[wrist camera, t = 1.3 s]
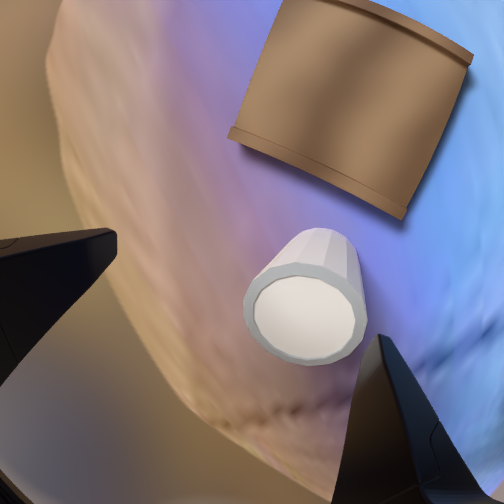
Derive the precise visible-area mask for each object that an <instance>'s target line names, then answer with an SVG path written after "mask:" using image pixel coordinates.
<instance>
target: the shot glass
mask: <svg viewBox="0 0 504 504" xmlns="http://www.w3.org/2000/svg"><path fill="white" fill-rule="evenodd" d="M243 306H244V320H245V322H246V324H247V327H248V329H249V331H250V333H251V335H252V337H253V338H254V339H255V340H256V341H257V342H258V343H259V344H260V345H261V346H262V347H263V348H264V349H265V350H266V351H267V352H269V353H271V354H273V355H274V356H276V357H278V358H280V359H282V360H284V361H286V362H290V363H295V364H300V365H305V366H316V365H325V364H331V363H333V362H335V361H338V360H340V359H342V358H344V357H346V356H348V355H349V354H350V353H351V352H352V351H353V350H354V349H355V348H356V347H357V346H358V344H359V343H360V342H361V341H362V340H363V336H364V332H365V329H366V325H367V321H368V319H367V311H366V303H365V296H364V288H363V282H362V275H361V269H360V263H359V259H358V255H357V252H356V249H355V247H354V246H353V245H352V244H351V242H350V241H349V240H348V239H347V237H345V236H343V235H341V234H340V233H338V232H336V231H334V230H332V229H324V228H313V229H309V230H306V231H302V232H301V233H300V234H298V235H297V236H296V237H294V238H293V239H292V240H291V241H290V242H289V243H288V244H287V245H286V246H285V247H284V248H283V249H282V250H281V251H280V252H279V253H278V254H277V256H276V257H275V258H274V259H273V260H272V261H271V262H270V263H269V264H268V265H267V266H266V267H265V268H264V269H263V270H262V271H261V272H260V273H259V275H258V276H257V277H256V278H255V279H254V280H253V281H252V283H251V285H250V287H249V289H248V291H247V293H246V295H245V297H244V299H243Z"/></svg>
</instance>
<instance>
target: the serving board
mask: <svg viewBox="0 0 504 504" xmlns="http://www.w3.org/2000/svg"><path fill="white" fill-rule="evenodd" d="M473 56H474V54H472V53H471V52H469V51H468V50H466V49H465V48H463V47H462V46H460V45H458V44H457V43H455V42H453V41H452V40H450V39H448V38H447V37H445V36H443V35H442V34H440V33H438V32H436V31H434V30H433V29H431V28H429V27H427V26H425V25H423V24H421V23H419V22H417V21H415V20H413V19H411V18H409V17H407V16H405V15H403V14H401V13H398V12H396V11H394V10H392V9H389V8H387V7H385V6H382V5H380V4H377V3H375V2H372V1H369V0H283V2H282V4H281V6H280V9H279V11H278V13H277V16H276V18H275V20H274V23H273V25H272V28H271V30H270V32H269V35H268V37H267V40H266V42H265V45H264V47H263V50H262V52H261V55H260V57H259V60H258V63H257V65H256V68H255V70H254V73H253V76H252V78H251V81H250V84H249V86H248V89H247V92H246V94H245V97H244V100H243V103H242V105H241V108H240V111H239V114H238V117H237V119H236V122H235V125H234V127H231V128H230V131H229V134H228V137H227V138H228V139H231V140H233V141H236V142H238V143H241V144H243V145H246V146H248V147H251V148H253V149H256V150H258V151H260V152H263V153H265V154H267V155H270V156H272V157H274V158H277V159H279V160H281V161H284V162H286V163H288V164H290V165H293V166H295V167H297V168H299V169H301V170H304V171H306V172H308V173H310V174H312V175H314V176H316V177H318V178H321V179H323V180H325V181H327V182H329V183H331V184H333V185H335V186H337V187H339V188H341V189H343V190H345V191H347V192H349V193H351V194H353V195H355V196H357V197H359V198H361V199H362V200H364V201H366V202H368V203H370V204H372V205H374V206H376V207H377V208H379V209H381V210H383V211H385V212H387V213H388V214H390V215H392V216H394V217H396V218H397V219H399V220H402V219H403V217H404V215H405V213H406V211H407V208H406V207H407V205H408V203H409V201H410V200H411V198H412V196H413V194H414V192H415V190H416V188H417V186H418V184H419V182H420V180H421V178H422V176H423V174H424V172H425V170H426V168H427V166H428V164H429V162H430V160H431V157H432V155H433V153H434V151H435V149H436V147H437V144H438V142H439V140H440V138H441V135H442V133H443V131H444V128H445V126H446V124H447V121H448V119H449V116H450V114H451V111H452V109H453V106H454V104H455V101H456V99H457V96H458V93H459V91H460V88H461V85H462V83H463V80H464V77H465V74H466V71H467V68H468V66H469V65H471V63H472V59H473Z"/></svg>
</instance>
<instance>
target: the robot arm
mask: <svg viewBox="0 0 504 504" xmlns="http://www.w3.org/2000/svg"><path fill="white" fill-rule="evenodd" d="M116 255H117V233H116V232H115V231H114V230H111V229H109V228H98V229H88V230H79V231H69V232H60V233H52V234H43V235H35V236H27V237H20V238H12V239H4V240H0V386H1V385H2V384H3V383H4V381H5V380H6V379H7V378H8V377H9V375H10V374H11V373H12V372H13V370H14V369H15V368H16V367H17V366H18V364H19V363H20V362H21V361H22V360H23V358H24V357H25V356H26V355H27V354H28V353H29V351H30V350H31V349H32V348H33V347H34V346H35V345H36V344H37V342H38V341H39V340H40V339H41V338H42V337H43V336H44V335H45V333H47V331H48V330H49V329H50V328H51V327H52V326H53V325H54V324H55V323H56V322H57V321H58V320H59V319H60V317H62V315H63V314H64V313H65V312H66V311H67V310H68V309H69V308H70V307H71V306H72V305H73V304H74V303H75V302H76V301H77V300H78V299H79V298H80V297H81V296H82V295H83V294H84V293H85V292H86V291H87V290H88V289H89V288H90V287H91V286H92V284H93V283H94V282H95V281H96V280H97V279H98V278H99V276H100V275H101V274H102V273H103V272H104V271H105V269H106V268H107V267H108V266H109V265H110V264H111V262H112V261H113V260H114V259H115V257H116ZM0 504H34V503H33V502H32V501H31V500H29V499H28V498H27V497H26V496H25V495H24V494H23V493H22V492H21V491H20V490H19V489H18V488H17V487H16V486H15V485H14V484H13V483H12V481H11V480H10V479H9V478H8V477H7V476H6V475H5V474H4V473H3V472H2V471H1V469H0ZM331 504H504V503H503V502H500V501H497V500H494V499H492V498H491V497H489V496H488V495H487V494H485V493H484V491H483V490H482V489H481V488H480V486H479V485H478V483H477V481H476V480H475V478H474V476H473V475H472V473H471V472H470V470H469V468H468V467H467V465H466V464H465V462H464V461H463V459H462V457H461V456H460V454H459V453H458V451H457V449H456V448H455V446H454V445H453V443H452V441H451V439H450V438H449V436H448V434H447V432H446V431H445V429H444V427H443V425H442V423H441V422H440V421H439V418H438V416H437V414H436V413H435V411H434V409H433V407H432V406H431V404H430V402H429V400H428V399H427V397H426V395H425V394H424V392H423V390H422V389H421V387H420V385H419V384H418V382H417V380H416V379H415V377H414V375H413V374H412V372H411V370H410V369H409V367H408V365H407V364H406V362H405V361H404V359H403V357H402V356H401V354H400V353H399V351H398V349H397V348H396V346H395V345H394V343H393V342H392V340H391V339H390V337H388V336H385V335H382V334H377V335H376V336H375V337H374V338H373V340H372V341H371V343H370V345H369V346H368V348H367V349H366V351H365V353H364V355H363V357H362V361H361V365H360V370H359V374H358V378H357V382H356V386H355V390H354V394H353V398H352V402H351V408H350V414H349V420H348V426H347V432H346V438H345V443H344V449H343V454H342V459H341V463H340V468H339V473H338V477H337V481H336V486H335V490H334V494H333V498H332V502H331Z"/></svg>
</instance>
